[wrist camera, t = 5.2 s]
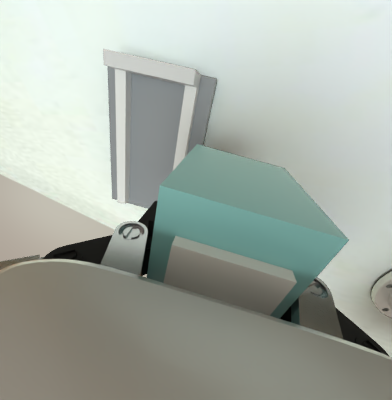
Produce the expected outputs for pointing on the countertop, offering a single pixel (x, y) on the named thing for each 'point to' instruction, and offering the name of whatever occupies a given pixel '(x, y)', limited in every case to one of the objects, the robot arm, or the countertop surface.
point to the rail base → (152, 122)
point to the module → (239, 232)
